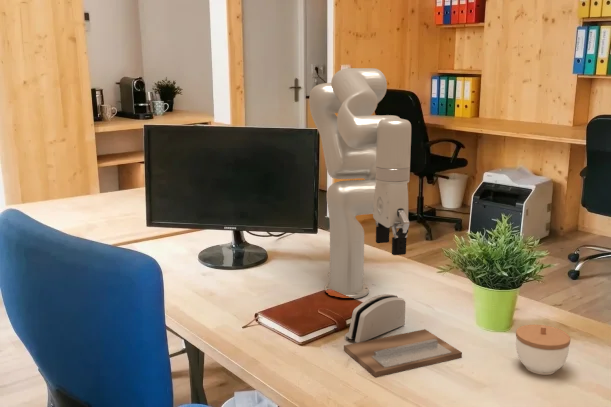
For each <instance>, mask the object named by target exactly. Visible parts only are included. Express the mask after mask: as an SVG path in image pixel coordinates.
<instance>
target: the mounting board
mask: <svg viewBox="0 0 611 407" xmlns="http://www.w3.org/2000/svg"><path fill="white" fill-rule="evenodd" d="M431 339H436V340H438V344H440V345H441V346H443V347H445V348H446V349H448V350H449V351H451V354H447V355H443V356H439V357H434V358H430V359H425V360H421V361H416V362H412V363H407V364H403V365H398V366H394V367H390V368H383V367H382V366H381V365H380V364H378V363H377V362H376V361H375V360H373V359H372V358H371V356H374V351H379V350H384V349H389V348H393V347H398V346H403V345H408V344H412V343H417V342H422V341H427V340H431ZM343 351H344V352H345V353H347V355H349V356H350V357H351V358H352V359H354V360H355V361H356V362H357V363H358V364H359V365H360V366H361V367H363V369H365V370H366V371H367V372H368V373H370V374H371V376H373V377H374V378H378V377H383V376H387V375H392V374H395V373H401V372H404V371H409V370H413V369H418V368H421V367H426V366H430V365H436V364H439V363H445V362H449V361H452V360H457V359H462V356H463V352H462V351H460V350H459V349H457V348H456V347H454V346H452V345H451V344H449V343H448V342H446V341H444V340H443V339H441V338H439V336H436V335H435V334H433V333H432V332H430V331H429V330H427V329H425V328H424V329H419V330H415V331H409V332H405V333H400V334H394V335H389V336H385V337H380V338H376V339H375V338H374V339H369V340H366V341H364V342H359V343H357V342H354V343H349V344H346V345H343Z"/></svg>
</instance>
